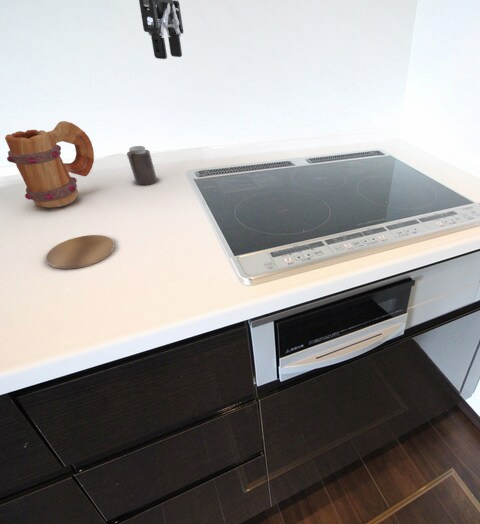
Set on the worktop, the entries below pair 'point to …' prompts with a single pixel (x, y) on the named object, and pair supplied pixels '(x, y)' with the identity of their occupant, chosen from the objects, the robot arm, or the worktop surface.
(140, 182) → the pepper mill
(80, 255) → the coaster
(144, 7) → the robot arm
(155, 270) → the worktop surface
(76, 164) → the mug
